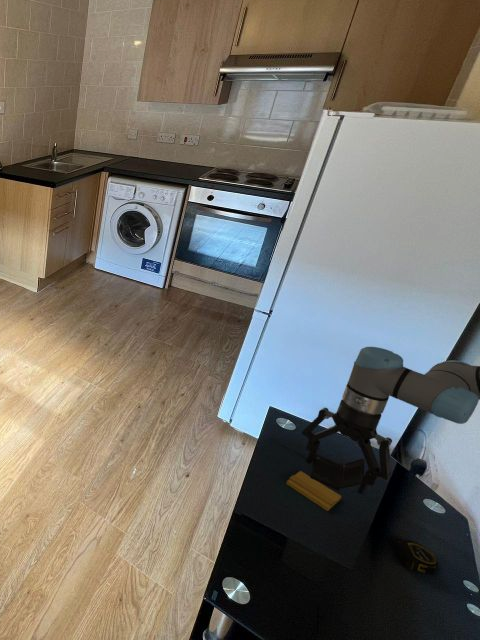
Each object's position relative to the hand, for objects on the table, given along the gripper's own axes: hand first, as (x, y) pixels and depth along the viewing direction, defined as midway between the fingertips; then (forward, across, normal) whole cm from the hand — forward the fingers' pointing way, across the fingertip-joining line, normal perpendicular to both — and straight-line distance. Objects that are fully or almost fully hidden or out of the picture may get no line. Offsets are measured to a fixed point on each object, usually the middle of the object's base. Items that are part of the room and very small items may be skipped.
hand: (334, 475), depth 107 cm
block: (+12, -4, +5) cm, 13 cm away
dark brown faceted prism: (+1, 0, 0) cm, 1 cm away
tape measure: (+12, +17, +1) cm, 21 cm away
